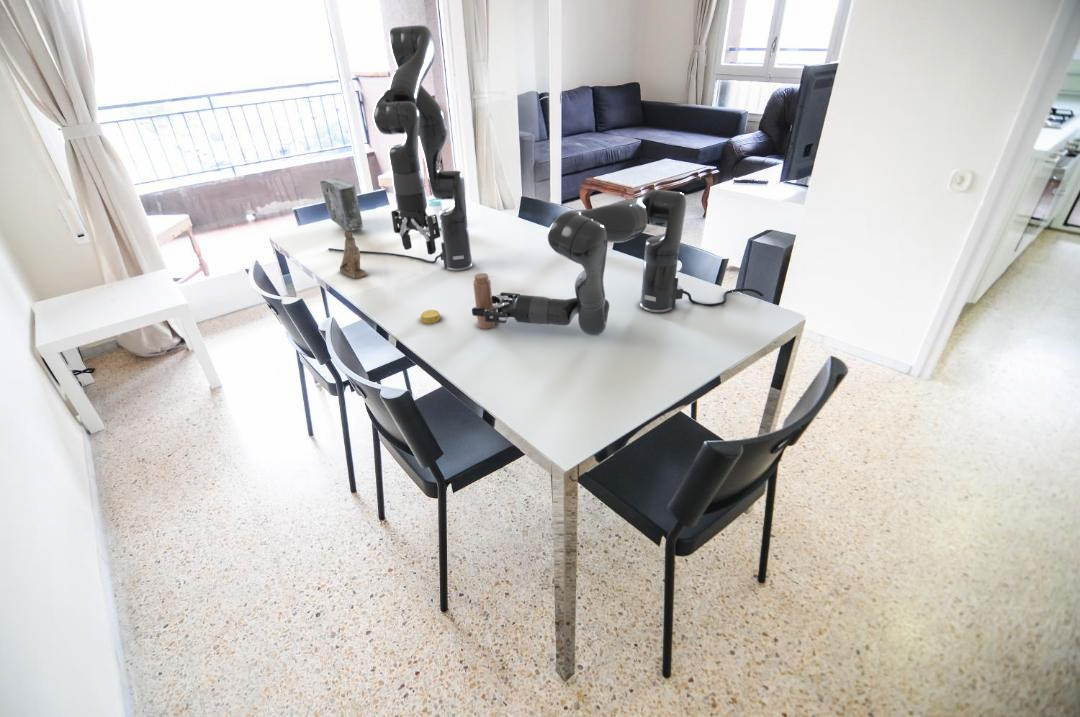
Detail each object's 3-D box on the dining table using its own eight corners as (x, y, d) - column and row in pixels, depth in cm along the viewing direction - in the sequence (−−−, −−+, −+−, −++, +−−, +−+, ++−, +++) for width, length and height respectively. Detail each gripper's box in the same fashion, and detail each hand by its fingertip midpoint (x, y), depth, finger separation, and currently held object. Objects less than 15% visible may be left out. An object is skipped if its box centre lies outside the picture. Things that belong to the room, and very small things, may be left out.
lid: (420, 324, 143) (419, 318, 142) (423, 316, 147) (422, 310, 146) (439, 323, 143) (438, 317, 142) (441, 314, 147) (440, 309, 146)
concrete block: (368, 232, 220) (358, 186, 209) (348, 237, 216) (336, 189, 205) (349, 220, 239) (338, 176, 228) (330, 223, 234) (319, 179, 224)
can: (445, 229, 220) (441, 202, 214) (429, 230, 220) (425, 202, 214) (447, 224, 226) (444, 198, 220) (432, 225, 226) (428, 198, 220)
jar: (491, 320, 144) (487, 271, 136) (496, 326, 140) (492, 277, 132) (476, 323, 142) (470, 274, 134) (480, 330, 138) (475, 280, 131)
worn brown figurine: (368, 281, 178) (362, 235, 166) (353, 285, 175) (347, 238, 163) (352, 266, 184) (346, 221, 172) (338, 270, 181) (331, 224, 169)
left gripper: (378, 190, 126) (390, 251, 135) (420, 196, 120) (430, 260, 128) (399, 183, 131) (410, 243, 140) (440, 189, 125) (449, 250, 134)
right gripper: (540, 286, 138) (485, 282, 142) (526, 308, 127) (466, 303, 130) (541, 310, 142) (488, 306, 146) (527, 334, 130) (469, 328, 134)
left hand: (419, 251), depth 134 cm, fingers open, 8 cm apart
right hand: (478, 304), depth 138 cm, fingers open, 8 cm apart
